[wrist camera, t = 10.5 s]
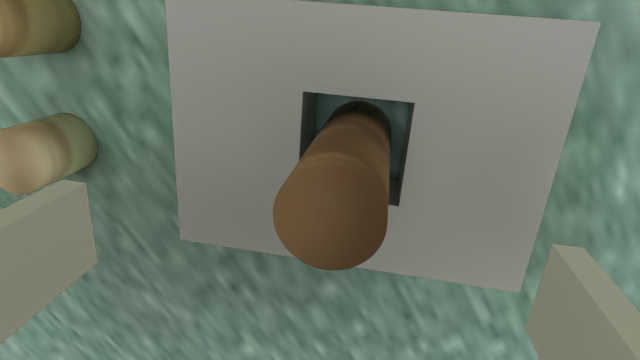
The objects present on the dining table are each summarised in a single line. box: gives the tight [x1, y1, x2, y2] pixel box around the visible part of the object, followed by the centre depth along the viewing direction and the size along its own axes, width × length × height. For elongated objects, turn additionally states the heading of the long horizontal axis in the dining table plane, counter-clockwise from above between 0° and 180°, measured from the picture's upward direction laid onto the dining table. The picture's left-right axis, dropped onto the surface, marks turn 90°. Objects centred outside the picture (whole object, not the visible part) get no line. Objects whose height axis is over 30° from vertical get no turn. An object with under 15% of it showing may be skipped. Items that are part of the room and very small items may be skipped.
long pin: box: [273, 101, 391, 270], centre depth 20 cm, size 4×4×12 cm
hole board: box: [165, 0, 601, 293], centre depth 23 cm, size 20×14×4 cm
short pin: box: [0, 113, 97, 195], centre depth 27 cm, size 4×4×5 cm
